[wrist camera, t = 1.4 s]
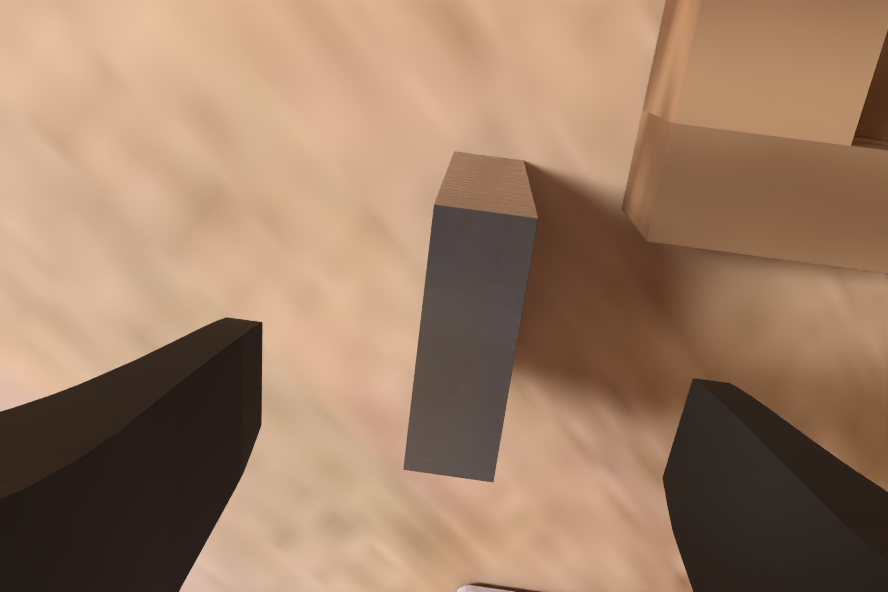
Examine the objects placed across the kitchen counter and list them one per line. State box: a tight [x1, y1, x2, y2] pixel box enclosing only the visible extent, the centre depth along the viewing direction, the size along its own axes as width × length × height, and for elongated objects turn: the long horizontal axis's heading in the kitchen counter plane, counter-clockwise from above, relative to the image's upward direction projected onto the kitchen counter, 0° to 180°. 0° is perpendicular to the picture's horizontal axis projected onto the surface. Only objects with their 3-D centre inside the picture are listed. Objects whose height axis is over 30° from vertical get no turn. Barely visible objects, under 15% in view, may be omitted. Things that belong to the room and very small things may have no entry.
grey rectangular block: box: [403, 152, 538, 482], centre depth 18 cm, size 6×2×7 cm, turn 173°
